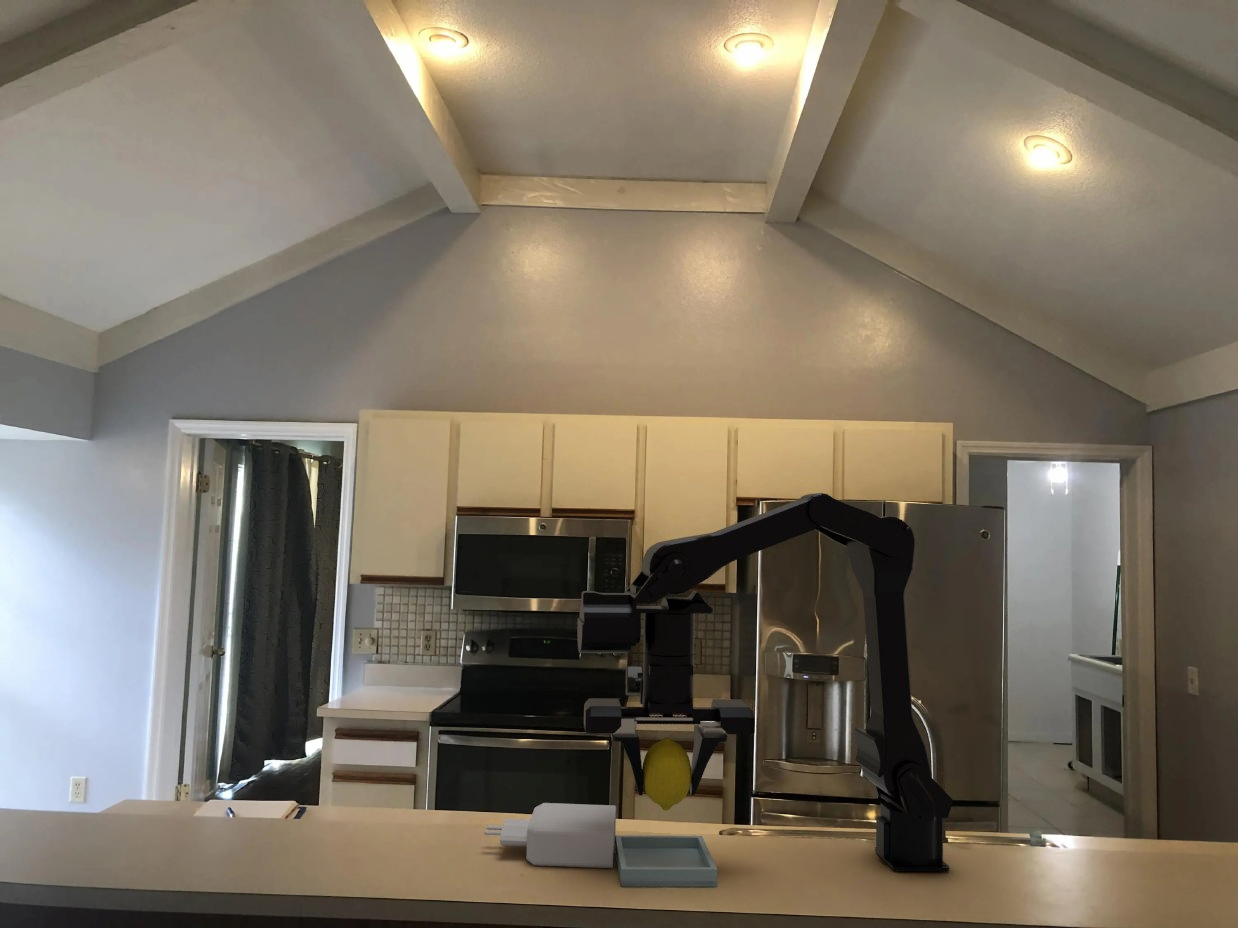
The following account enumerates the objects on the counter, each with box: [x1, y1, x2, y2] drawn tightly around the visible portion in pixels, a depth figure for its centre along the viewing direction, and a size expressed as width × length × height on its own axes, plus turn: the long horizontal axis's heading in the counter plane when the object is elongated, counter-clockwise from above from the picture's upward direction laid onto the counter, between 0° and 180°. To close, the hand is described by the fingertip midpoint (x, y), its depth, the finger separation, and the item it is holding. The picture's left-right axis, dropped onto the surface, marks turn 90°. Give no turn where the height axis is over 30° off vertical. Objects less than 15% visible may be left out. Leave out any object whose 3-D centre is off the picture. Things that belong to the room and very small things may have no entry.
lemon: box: [642, 737, 692, 812], centre depth 100 cm, size 6×6×8 cm
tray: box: [614, 834, 718, 888], centre depth 99 cm, size 10×10×2 cm
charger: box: [483, 802, 617, 869], centre depth 103 cm, size 5×9×15 cm
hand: (666, 794), depth 100 cm, fingers closed on lemon, 5 cm apart
